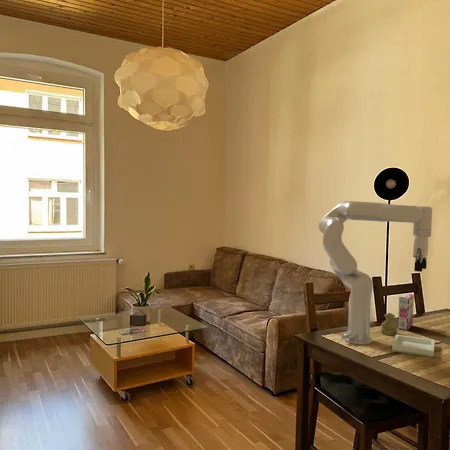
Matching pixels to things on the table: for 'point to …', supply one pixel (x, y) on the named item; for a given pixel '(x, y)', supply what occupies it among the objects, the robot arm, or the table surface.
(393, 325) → the brass door knob
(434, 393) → the table surface
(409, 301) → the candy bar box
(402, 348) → the tray
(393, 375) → the table surface
